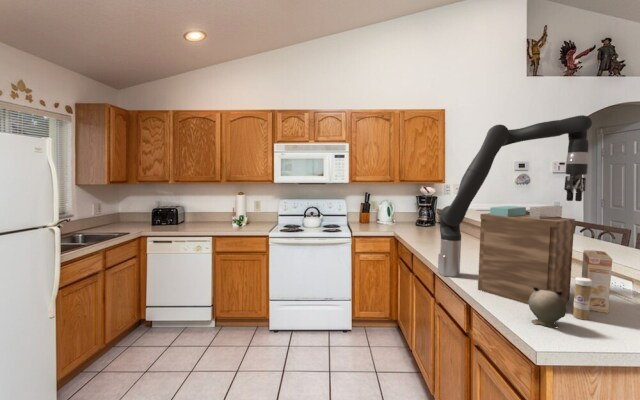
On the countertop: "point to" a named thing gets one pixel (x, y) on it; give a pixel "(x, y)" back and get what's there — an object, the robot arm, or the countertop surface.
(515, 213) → the teal base block
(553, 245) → the walnut shelf
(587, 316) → the sprinkles bottle
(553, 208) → the metal bar
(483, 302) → the countertop surface
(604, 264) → the coffeecake box
